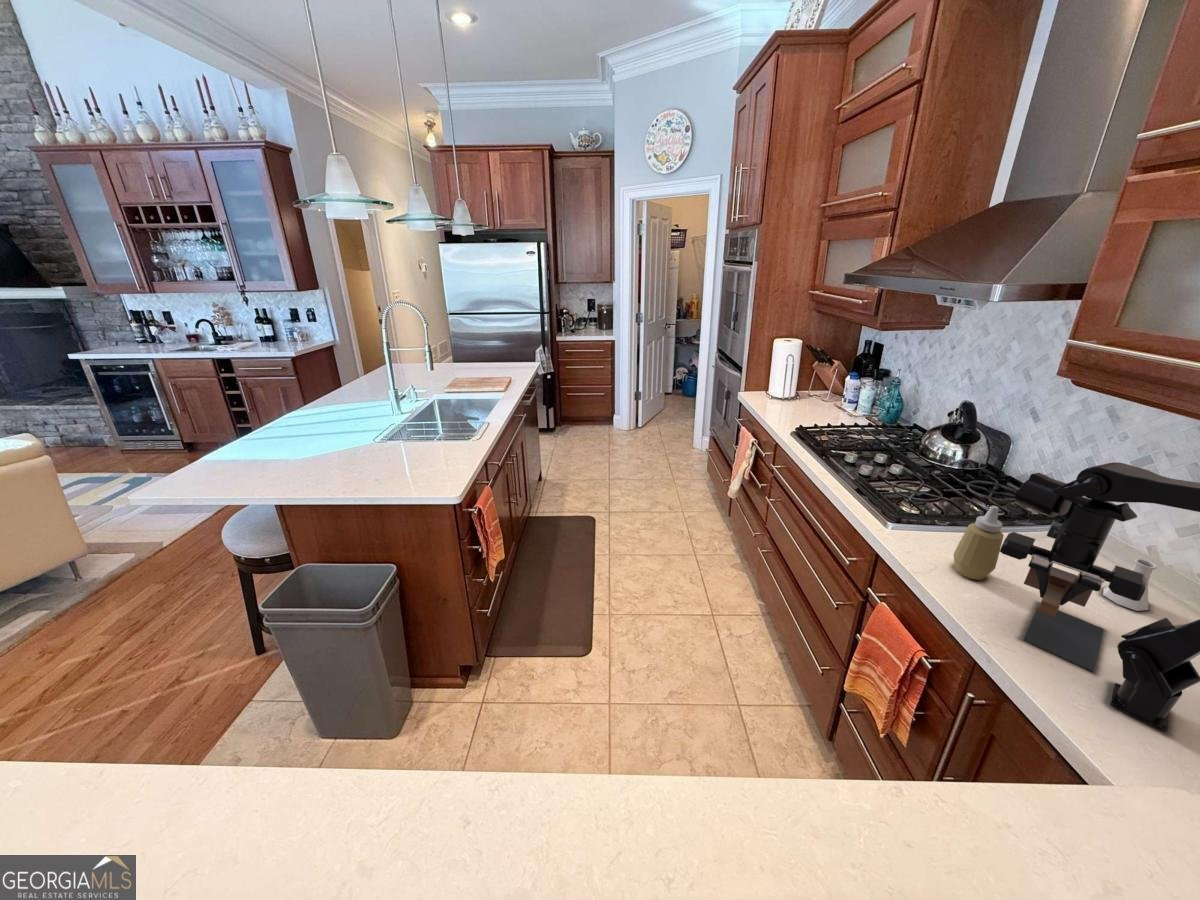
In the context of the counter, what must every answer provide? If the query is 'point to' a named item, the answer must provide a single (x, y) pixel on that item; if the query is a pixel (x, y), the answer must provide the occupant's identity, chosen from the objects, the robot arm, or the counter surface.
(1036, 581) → the brush
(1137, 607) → the flask
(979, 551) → the squeeze bottle
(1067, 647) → the mat
